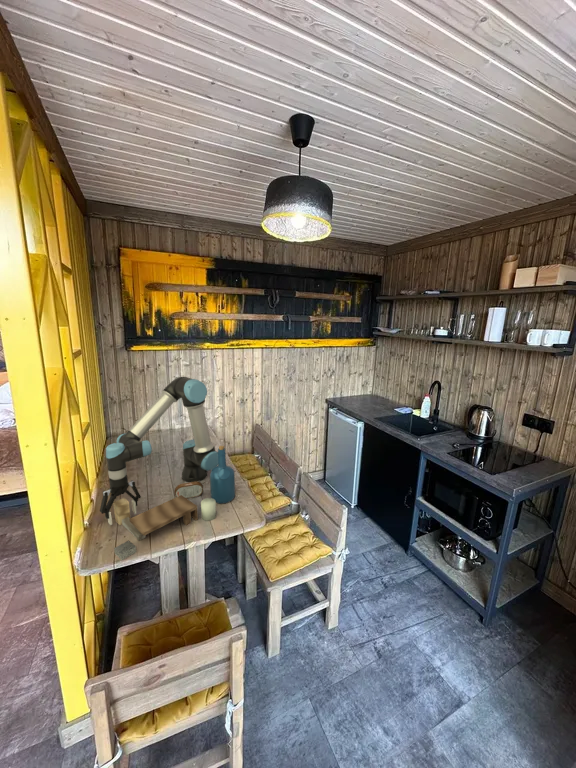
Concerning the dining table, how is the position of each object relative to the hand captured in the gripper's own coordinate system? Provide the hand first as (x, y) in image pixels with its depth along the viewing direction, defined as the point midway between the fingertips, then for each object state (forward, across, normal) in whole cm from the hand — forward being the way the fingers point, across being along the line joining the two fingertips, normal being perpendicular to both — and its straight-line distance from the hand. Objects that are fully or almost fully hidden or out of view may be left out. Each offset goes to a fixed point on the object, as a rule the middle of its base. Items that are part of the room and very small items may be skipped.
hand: (122, 518), depth 153 cm
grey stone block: (+2, +8, +23) cm, 24 cm away
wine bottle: (+2, -44, +20) cm, 49 cm away
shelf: (+1, -12, +19) cm, 22 cm away
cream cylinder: (+1, -30, +28) cm, 41 cm away
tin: (+2, -32, +6) cm, 33 cm away
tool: (+1, 0, +8) cm, 9 cm away
